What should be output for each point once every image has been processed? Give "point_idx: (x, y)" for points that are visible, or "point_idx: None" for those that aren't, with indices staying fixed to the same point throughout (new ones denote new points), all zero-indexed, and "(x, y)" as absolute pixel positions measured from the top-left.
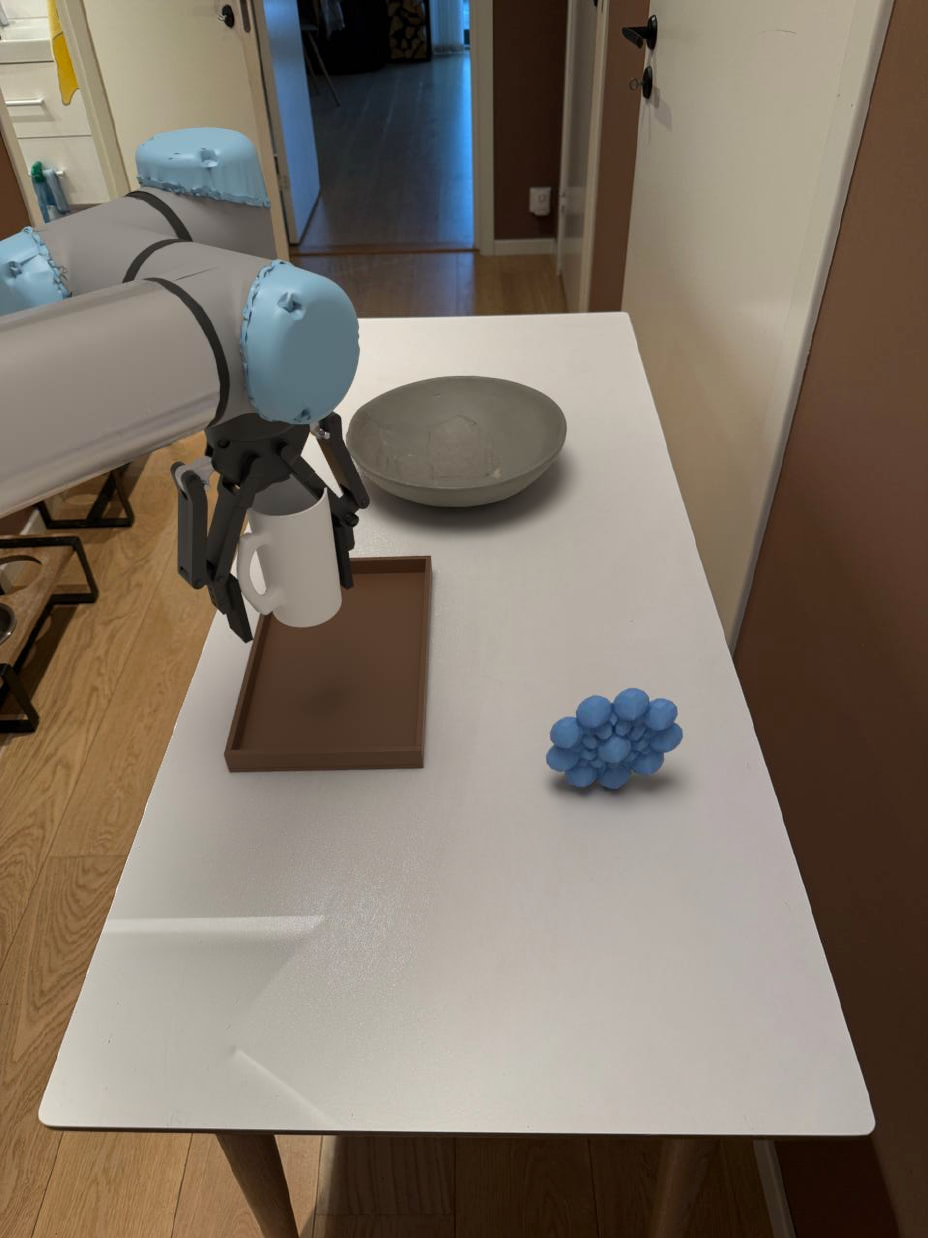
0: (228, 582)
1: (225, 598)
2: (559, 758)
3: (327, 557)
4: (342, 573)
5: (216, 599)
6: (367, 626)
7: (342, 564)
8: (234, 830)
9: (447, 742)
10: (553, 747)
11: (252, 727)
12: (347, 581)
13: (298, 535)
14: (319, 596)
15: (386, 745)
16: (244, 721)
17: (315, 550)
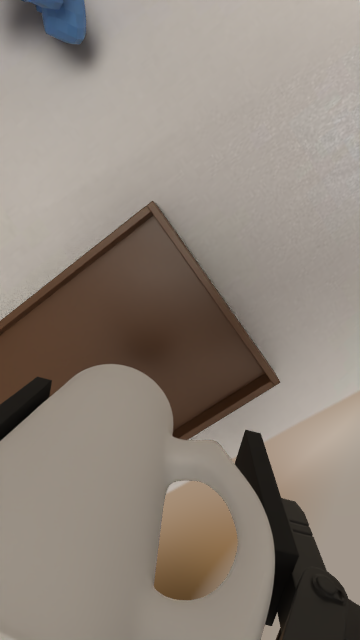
0: (296, 562)
1: (292, 529)
2: (74, 1)
3: (43, 426)
4: (33, 402)
5: (313, 543)
6: None
7: (20, 409)
8: (327, 316)
9: (113, 206)
10: (64, 18)
11: (220, 391)
12: (39, 386)
13: (72, 535)
14: (116, 390)
15: (158, 256)
16: (220, 402)
17: (59, 456)
